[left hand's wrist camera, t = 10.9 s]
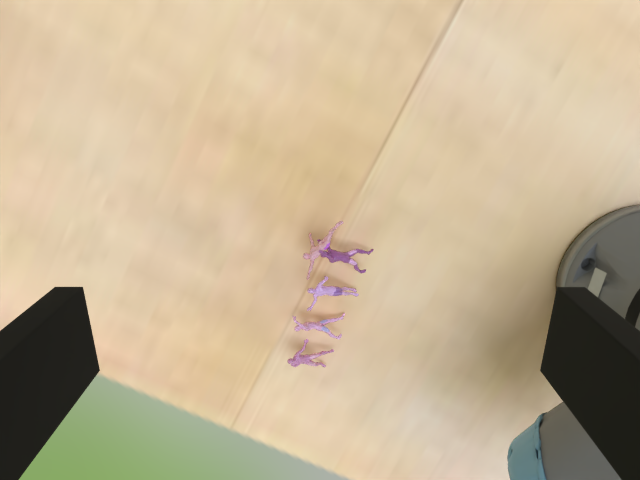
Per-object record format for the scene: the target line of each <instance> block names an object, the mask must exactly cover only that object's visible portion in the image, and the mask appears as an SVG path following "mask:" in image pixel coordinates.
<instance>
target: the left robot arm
mask: <svg viewBox="0 0 640 480" xmlns="http://www.w3.org/2000/svg"><path fill="white" fill-rule="evenodd" d="M99 371H100V369H99V364H98V360H97V355H96V350H95V345H94V340H93V335H92V330H91V325H90V320H89V315H88V310H87V305H86V300H85V295H84V290H83V287H54V288H53V289H52V290H51V291H50V292H48V293H47V294H46V295H45V296H43V297H42V298H41V299H40V300H38V301H37V302H36V303H35V304H33V305H32V306H31V307H30V308H28V309H27V310H26V311H25V312H23V313H22V314H21V315H20V316H18V317H17V318H16V319H15V320H13V321H12V322H11V323H10V324H8V325H7V326H6V327H5V328H3V329H2V330H1V331H0V480H19V478H20V477H21V475H22V474H23V473H24V471H25V470H26V469H27V467H28V466H29V465H30V463H31V462H32V461H33V459H34V458H35V457H36V455H37V454H38V453H39V451H40V450H41V449H42V447H43V446H44V445H45V443H46V442H47V441H48V439H49V438H50V437H51V435H52V434H53V433H54V431H55V430H56V429H57V427H58V426H59V425H60V423H61V422H62V420H63V419H64V418H65V416H66V415H67V414H68V412H69V411H70V410H71V408H72V407H73V406H74V404H75V403H76V402H77V400H78V399H79V398H80V396H81V395H82V394H83V392H84V391H85V389H86V388H87V387H88V386H89V384H90V383H91V382H92V380H93V379H94V377H95V376H96V375H97V373H98V372H99ZM540 371H541V372H542V373H543V375H544V376H545V377H546V379H547V380H548V382H549V383H550V384H551V386H552V387H553V388H554V390H555V391H556V392H557V394H558V395H559V396H560V398H561V399H562V400H563V402H562V403H561V404H559V405H558V406H556V407H555V408H553V409H552V410H550V411H549V412H546V413H543V414H541V415H540V416H539V417H538V418H537V420H536V421H535V423H533V424H532V425H531V426H530V427H529V428H527V429H526V430H525V431H524V432H522V433H521V434H520V435H518V436H517V437H516V438H515V439H514V440H513V441H512V443H511V445H510V447H509V450H508V471H509V476H510V480H640V205H635V206H630V207H626V208H622V209H619V210H616V211H614V212H611V213H609V214H607V215H605V216H603V217H602V218H600V219H598V220H597V221H595V222H594V223H592V224H591V225H590V226H588V227H587V228H586V229H585V230H584V231H583V232H582V233H581V234H580V235H579V236H578V237H577V238H576V239H575V240H574V241H573V243H572V244H571V245H570V247H569V248H568V250H567V251H566V253H565V255H564V257H563V259H562V261H561V264H560V267H559V270H558V275H557V282H556V295H555V300H554V305H553V310H552V315H551V320H550V325H549V330H548V335H547V340H546V345H545V350H544V355H543V360H542V364H541V369H540Z"/></svg>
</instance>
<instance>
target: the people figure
mask: <svg viewBox="0 0 640 480" xmlns="http://www.w3.org/2000/svg"><path fill="white" fill-rule="evenodd" d="M341 224H343V221H340V222H338V223H337V224H336V226H335V227H333V228H332V229H331V230H330V231H329V234H328V235H327V236H326V237H324V239H322V240H317V241H319V242H318V243H319V245H318V246H314V242H313V239H312V238H311V233H309V238H310V242H311V249H310V254H307V253H304V254H303V258H304V259H310V262H311V263H310V267H309V271H308V275H307V280H308V279H309V277H310V272H311V270H312V268H313V264H314V259H316V258H317V257H318V256H319V255H321V257H327V258H328V259H329V261H330V262H331V263H333V262H336V261H343V262H344V263H349V264H351V265H354V268H355V270H357V271H358V272H360V273H364V272H366V269H365V270H359V268H358V266H357V262H356V261H354V260H353V259H351V258H349V257H351V256H353V255H354V254H356V253H367V254H370V253H371V252H372V251H373V249H371V250H370V251H368V252H367V251H364V250H361V249H355V250H351V251H349V252H345V253H343V252H338V251H336V250H332V249H330V239H331V237H332V234H333V232H334V231H335V229H336V228H337V227H338V226H340V225H341ZM326 249H327V250H328V252H326V251H324V250H326ZM327 280H328V277H327V276H325V279H324V280H323V281H321V282H320V283H318V285H317V287H316V288H315V289H313V288H309V289H308V293H314V294H313V297H314V301H313V303H312V305H311V307H309V308H308V309H307V311H308V310H310V309H312V307H313V305H314V304H315V303H316V301H317V296H322V295H329V296H339V295H350V294H352V295H354V296H358V295H359V294H357V293H352V292H351V293H350V292H344V291H343V290H352V291H354V292H356V289H354V288H347V287H343V288H340V287H335V286H323V285H322V284H323V283H325V282H326V281H327ZM310 311H311V310H310ZM344 314H345V313H343V315H342V316H341V317H340V318H332V319H325V320H322V321H318V322H305V323H303V324H301V323H299V322H298V321H296V320H295V319H296V316H295V317H294V316H293V320H294V321H295V322H296V323H297V324H298V325H297V326H296V327H295V331H299V330H300V329H303V330H306V331H308V330H310V329H313V328H314V329H316V330H318V331H324V332H326V333H328V334H329V336H330V337H333V338H336V339H340V338H341V334H340V335H339V336H338V337H336V336H335V335H333V334H332V333H331V332H330V330H329V329H328V328H327V327H325V326H324V325H325V324H327V323H330V322H335V321H337V320H340V319H341V320H343V317H344ZM304 342H305V344H304V346H303V347H302V349H301V350H300V351H298V352H297V353H296V354H295V355H294V357H293V359H291V358H290V359H288V363H289V364H291V366H293V367H297V366H298V365H299V364H301V363H303V364H307V365H310V366H318V365H320V364H321V365H322V366H323V367H326V365H324V364H323V363H321V362H320V363H318V362H316V363H315V362H313V361H312V360H311V359H315V358H317V357H319V356H321V355H324V354H326V353H331V352H334V350H333V349H331V350H330V351H321V352H320V353H314V354H310V355H301V354H300V353H302V352H303V351H304V349H305V346H306V344H307V342H308V339H306V341H305V340H304Z"/></svg>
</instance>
